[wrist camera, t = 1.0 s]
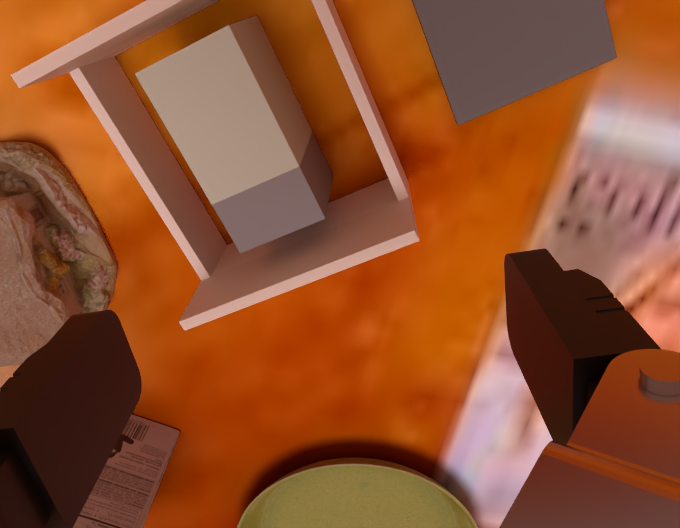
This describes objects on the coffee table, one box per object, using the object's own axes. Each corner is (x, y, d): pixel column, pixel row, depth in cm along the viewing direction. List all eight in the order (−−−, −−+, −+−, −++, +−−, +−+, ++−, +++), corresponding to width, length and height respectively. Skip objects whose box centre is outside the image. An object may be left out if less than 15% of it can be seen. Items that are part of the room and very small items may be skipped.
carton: (306, -61, 29) (283, -76, 21) (407, 179, 35) (419, 240, 27) (100, 50, 32) (10, 75, 24) (223, 255, 38) (184, 330, 30)
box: (256, 15, 31) (228, 25, 25) (333, 175, 35) (325, 218, 29) (180, 54, 32) (134, 73, 26) (262, 205, 36) (240, 253, 30)
